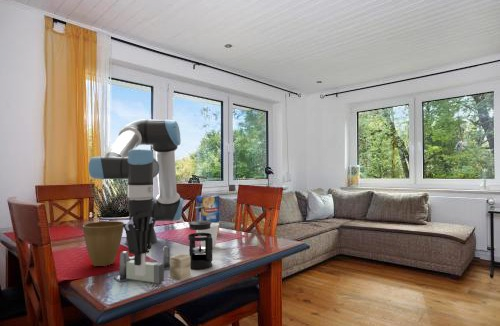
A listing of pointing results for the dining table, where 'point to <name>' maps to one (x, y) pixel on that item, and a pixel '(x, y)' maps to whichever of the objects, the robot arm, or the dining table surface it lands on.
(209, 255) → the french press
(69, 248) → the dining table surface
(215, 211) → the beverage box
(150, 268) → the gate
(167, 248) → the post
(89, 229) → the plant pot
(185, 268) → the block
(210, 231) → the cup
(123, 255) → the metal knob post
